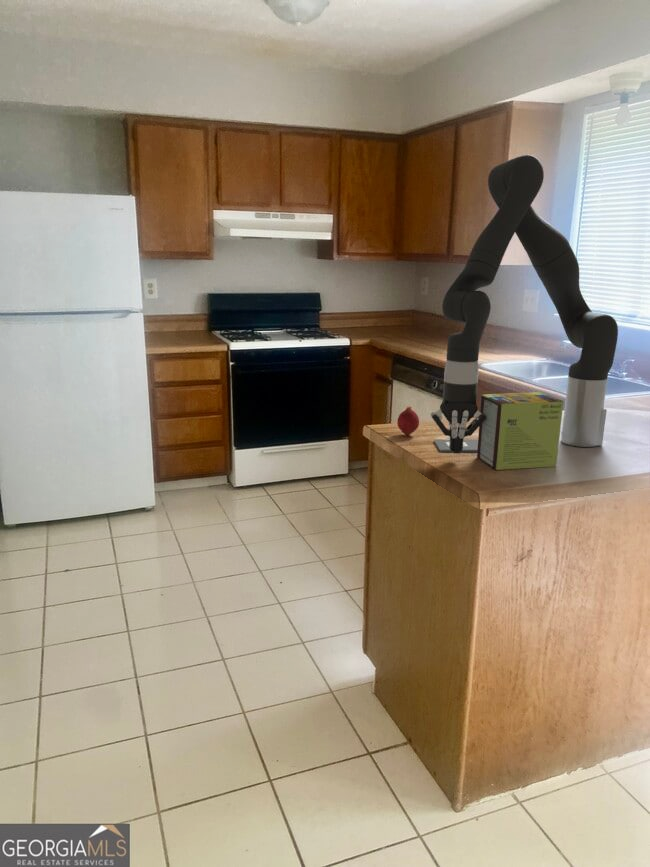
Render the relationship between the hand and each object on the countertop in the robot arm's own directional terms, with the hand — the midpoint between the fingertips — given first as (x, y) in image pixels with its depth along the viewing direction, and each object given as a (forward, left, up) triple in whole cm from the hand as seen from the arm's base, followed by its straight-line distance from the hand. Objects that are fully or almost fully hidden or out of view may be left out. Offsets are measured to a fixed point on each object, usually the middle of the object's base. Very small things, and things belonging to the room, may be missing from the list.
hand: (455, 452), depth 150 cm
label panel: (-7, -12, -2) cm, 14 cm away
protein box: (-14, 0, -2) cm, 14 cm away
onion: (+8, -22, -2) cm, 24 cm away
